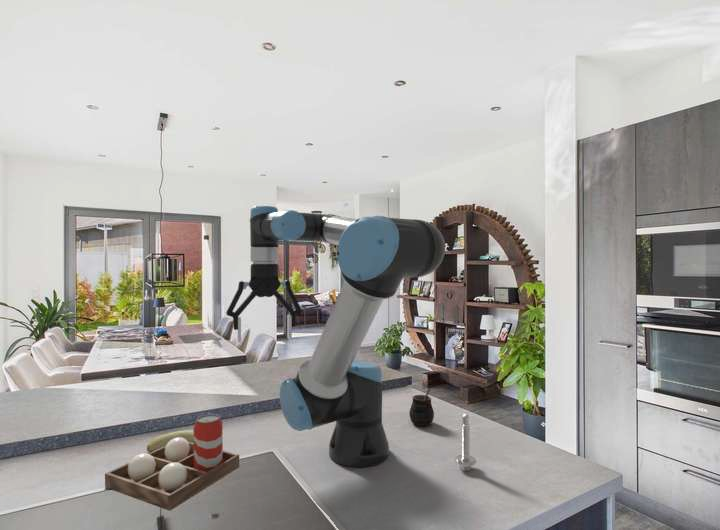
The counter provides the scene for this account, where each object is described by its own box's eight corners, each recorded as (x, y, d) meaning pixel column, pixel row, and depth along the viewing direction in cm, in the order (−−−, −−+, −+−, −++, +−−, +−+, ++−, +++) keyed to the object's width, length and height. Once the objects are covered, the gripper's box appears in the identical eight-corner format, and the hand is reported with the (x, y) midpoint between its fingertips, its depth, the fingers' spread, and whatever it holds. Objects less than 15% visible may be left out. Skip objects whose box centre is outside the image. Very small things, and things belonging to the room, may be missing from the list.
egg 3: (192, 486, 94) (192, 460, 94) (171, 499, 89) (171, 472, 89) (174, 480, 97) (174, 455, 97) (152, 493, 92) (152, 466, 92)
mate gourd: (404, 425, 130) (404, 391, 130) (416, 417, 136) (416, 385, 136) (426, 430, 126) (427, 395, 126) (438, 422, 132) (438, 389, 132)
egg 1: (161, 476, 98) (161, 451, 98) (139, 488, 93) (139, 462, 93) (144, 471, 101) (144, 447, 101) (122, 482, 96) (121, 457, 96)
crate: (239, 467, 104) (239, 454, 104) (169, 510, 86) (169, 495, 86) (179, 450, 113) (179, 439, 113) (105, 487, 95) (104, 473, 95)
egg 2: (194, 458, 107) (194, 436, 107) (176, 468, 102) (175, 445, 102) (178, 454, 110) (178, 432, 109) (159, 463, 105) (159, 440, 104)
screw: (452, 470, 102) (457, 462, 107) (473, 475, 100) (477, 466, 104) (453, 415, 102) (458, 409, 106) (474, 418, 100) (478, 412, 104)
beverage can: (203, 479, 97) (202, 425, 97) (189, 469, 102) (189, 418, 102) (227, 469, 102) (227, 417, 102) (213, 460, 106) (213, 411, 106)
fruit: (151, 444, 118) (151, 431, 117) (211, 438, 121) (211, 426, 121) (146, 456, 111) (145, 443, 110) (209, 449, 114) (209, 436, 114)
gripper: (306, 262, 128) (306, 335, 129) (216, 263, 120) (217, 340, 121) (312, 263, 121) (312, 339, 122) (217, 263, 113) (217, 345, 114)
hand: (264, 340), depth 121 cm, fingers open, 13 cm apart
